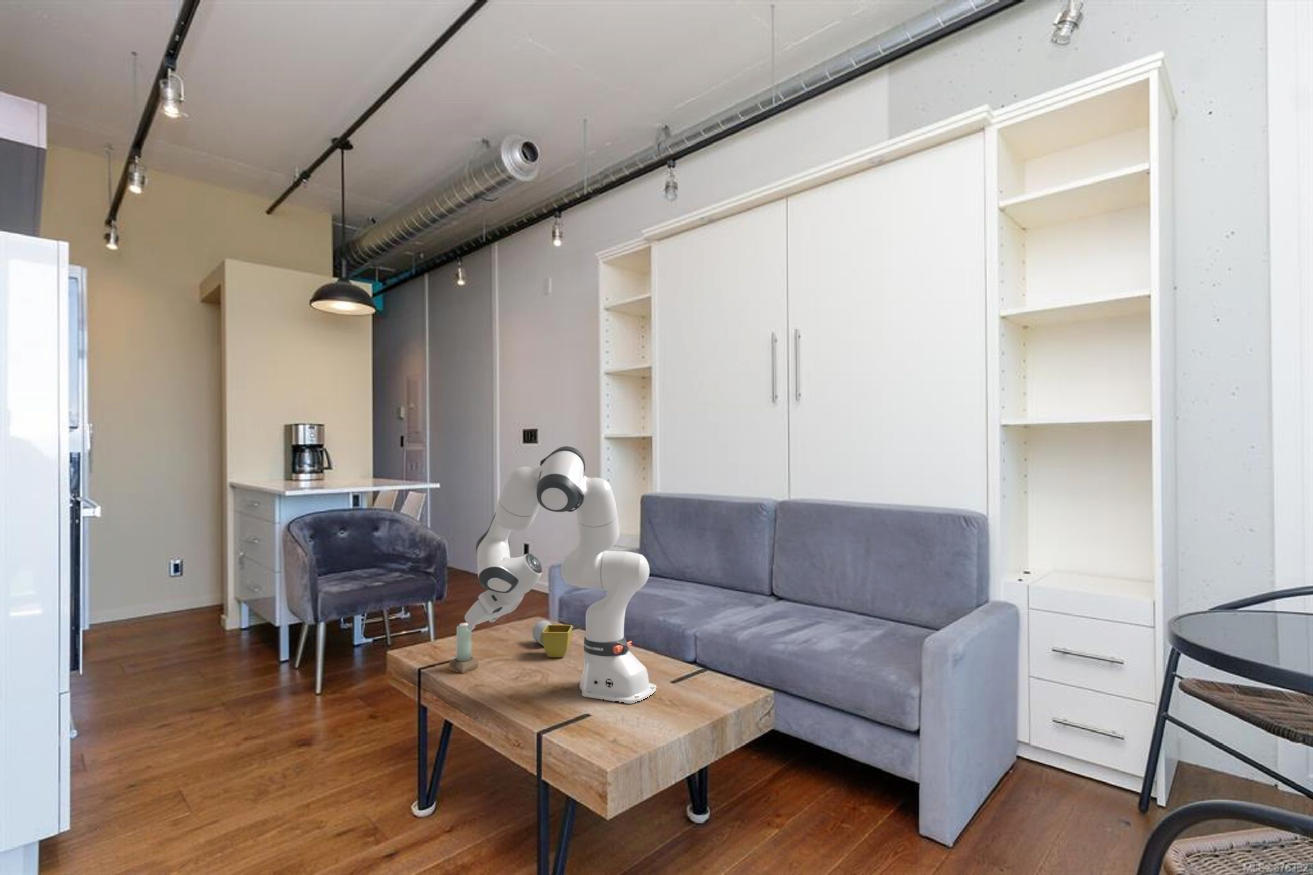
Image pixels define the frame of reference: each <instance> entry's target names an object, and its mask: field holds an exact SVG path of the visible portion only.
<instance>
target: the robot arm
mask: <svg viewBox="0 0 1313 875" xmlns="http://www.w3.org/2000/svg"><path fill="white" fill-rule="evenodd" d="M539 465H540V466H539V467H536V468H534V467H531V466H520V467H517V468H515V470H513V471H512V472H511V474H510V476H508V478H507V481H506V482H505V484H504V486H503V488H502V490H501V493H500V495H499V498H498V501H497V505H496V509H495V513H494V516H493V518H492V519H491V522H490V524H489V527H488V529H487V530H486V531H485V532H484V533H483V535H481V536H480V537H479V539H478V540H477V541H476V544H475V553H476V560H477V562H476V563H477V565H476V566H477V578H478V583H479V584H480V586H481V587H483V588H484V589H486V590H485V591H484V592H482V593H480V594H479V595H478V596H477V598H478V600H476V601H475V602H474V603H473V604H472V606H471V607H470V608H469V609H468V610H467V611H466V613H465V614H464V620H465V623H468V625H467V628H468V630H469V631H470V630H471V631H473V630H474V629H476V627H477V625H479V624H482V623H485V622H487V621H488V622H489V623H494V622H496V621H497V620H498V619H499V618H500V617H502V616H505V615H507V614H510V613H513V612H514V611H515V610H516V609H517V607H518V606H519V605H520V604H521V602H522V601H523V599H524V597H525V595H526V594H527V593H529V592H530V591H531V590H532V589H533V588H534V586H535V585H536V584H537V583H538V581H539V579H540V578H541V576H542V574H543V567H542V564H541V562H540V560H539V559H538V558H537V557H536V556H535V555H533V554H531V553H526V554H524V555H522V556H518V557H511V546H510V545H511V544H510V540H509V538H510V534H511V532H521V531H524V530H527V529H529V528H530V527H531V525H532V524H533V522H534V521H535V519H536V517H537V515H538V512H539V509H540V506H541V507H542V508H543V509H545V510H547V511H549V512H555V513H564V512H569V513H572V512H574V511H576V515H577V516H576V517H577V524H578V532H579V533H578V534H579V540H578V543H577V545H576V546H575V548H574V549H572V550H571V551H569V552H568V553H567V554H566V555H565V557H564V558H563V560H562V562H561V567H560V573H561V577H562V579H563V581H564V583H565V584H566V585H568V586H571V587H574V588H579V589H587V590H588V589H590V590H605V591H606V593H605V597H603V598H602V599H599V600H597V601H596V602H594V603H592V604H590V606H589V607H588V608H587V610H586V611H585V635H584V637H583V651H584V664H583V669H582V675H581V679H580V682H579V683H580V684H579V689H580V690H581V696H582V697H584V698H591V699H597V700H603V699H604V700H603V701H608V702H609V701H611V702H615V701H619V702H618V703H621V702H624V703H623V704H629V705H631V704H635V702H636V703H638V702H637V701H640V702H642V701H644V700H643V699H645V698H647V697H648V698H650V697H651V696H650V695H652V694H653V693H654V692H655V691H656V692H657V690H656V688H657V685H656V684H654V683H653V682H652V683H651V682H650V679H649V675H648V674H649V672H648V669H647V668H646V666H645V665H644V664H643V663H642V662H640V661H639V659H638V658H636V656H635V655H634V654H633V653H632V652H631V651H630V648H629V646H632V645H633V644H632V640H630V641H627V639H626V636H625V634H624V633H625V617H626V609H627V606H628V604H629V602H630V600H631V598H632V597H633V596H634V595H635V594H636V593H637V592H638V591H639V590H640V589H641V588H643V587H644V586H645V585H646V584H647V582H648V580H649V577H650V565H649V562H648V560H647V558H646V557H645V556H644V555H643V554H641V553H637V552H633V551H628V550H625V551H623V550H620V551H619V550H609V549H611V548H612V547H613V546H614V545H616V543H617V542H618V540H619V538H620V534H621V532H620V531H621V530H620V523H619V522H620V521H619V516H618V508H617V503H616V498H615V495H614V491H613V489H612V487H611V484H610V483H609V482H608V481H607V480H606V479H604V478H603V477H597V476H595V477H594V476H593V477H587V476H586V475H584V474H585V470H586V462H585V458H584V456H583V454H582V452H581V451H580V450H578V449H577V448H575V447H573V446H569V445H568V446H567V445H566V446H560V447H558V448H555V450H554V451H552V452H551V453H550V454H549V455H548V456H546V457H545V458H543V459H542V460H540V464H539ZM657 689H658V688H657ZM656 692H655V693H656ZM655 693H654V694H655ZM654 694H653V695H654ZM653 695H652V696H653ZM649 696H650V697H649ZM648 698H647V699H648ZM641 700H642V701H641ZM645 700H646V699H645Z"/></svg>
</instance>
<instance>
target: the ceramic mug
mask: <svg viewBox="0 0 1313 875" xmlns="http://www.w3.org/2000/svg"><path fill="white" fill-rule="evenodd" d="M547 625H553V624H552V623H551V622H550V621H548V620H540V621H538V622H537V623H535V625H534V627H533V628H532V637H533V639H534V640H535V641H536V642H537V643H539V645H541V646H543V647H544V645H543V636H542V632H543V630H544V629H545V627H546V626H547Z"/></svg>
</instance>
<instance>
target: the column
mask: <svg viewBox="0 0 1313 875" xmlns="http://www.w3.org/2000/svg"><path fill="white" fill-rule="evenodd" d="M467 625H468V623H467V622H461V623H459V625H457V626H456V650H455V651H456V653H455V654H456V657H455V658H456V660H457V661H468V660H470V659H471V657H472V630H470V631H469V630H468V628H467Z"/></svg>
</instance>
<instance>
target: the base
mask: <svg viewBox="0 0 1313 875" xmlns="http://www.w3.org/2000/svg"><path fill="white" fill-rule="evenodd" d="M448 667H449V669H450V670H449V669H448V670H449V671H451V670H453V671H452V672H454V671H457V672H456V673H458V672H460V673H459V674H462V673H463V674H466V673H468V672H467V671H469V672H471V670H472V671H474V670H476V668H477V669H479V658H477V657H473V656H471V659H470V660H468V661H457V660H456V657H455V658H453V659H450V660H449V666H448ZM473 669H474V670H473ZM465 672H466V673H465Z"/></svg>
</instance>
